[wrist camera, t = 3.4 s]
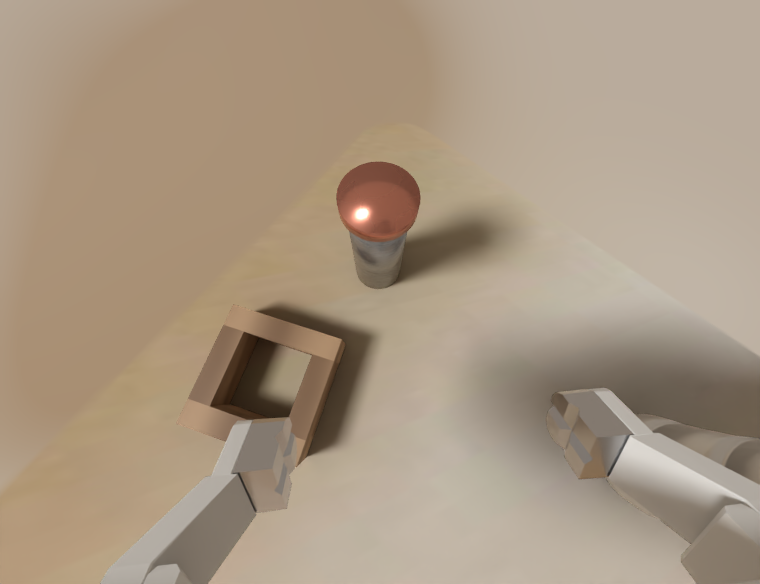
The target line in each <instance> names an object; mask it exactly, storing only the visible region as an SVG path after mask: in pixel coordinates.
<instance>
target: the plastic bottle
mask: <svg viewBox="0 0 760 584" xmlns="http://www.w3.org/2000/svg"><path fill="white" fill-rule="evenodd" d="M635 415H636V416H637V417H638V418H639V419H640V420H641V421H642V422H643V423H644V424H645V425H646V426H647V427H648V428H649V429H650V430H651V431H652V432H653V433H660V434H662V435H664V436H666V437H668V438H670V439H672V440H674V441H676V442H678V443H680V444H682V445H684V446H685V447H687V448H689V449H691V450H693V451H695V452H697V453H699V454H701V455H703V456H705V457H707V458H709V459H711V460H713V461H714V462H716V463H718V464H720V465H722V466H724V467H726V468H728V469H730V470H732V471H734V472H736V473H738V474H740V475H742V476H743V477H745V478H747V479H749V480H751V481H753V482H755V483H757V484H759V485H760V438H755V437H745V436H736V435H731V434H726V433H722V432H717V431H712V430H707V429H702V428H697V427H693V426H688V425H686V424H683V423H680V422H677V421H674V420H671V419H667V418H663V417H659V416H655V415H649V414H635ZM605 478H606V479H607V481H608V482H609V484H610V485H611V487H612V488H613V489H614V490H615V491H616V492H617V493H618V494H619V495H620V496H622V497H623V498H624V499H625V500H627V501H628V502H629V503H631V504H632V505H634V506H635V507H637V508H638V509H639V510H641V511H643V512H644V513H646V514H648V515H650V516H652V517H655V518H657V517H656V516H655V515H653V514H652V513H651V512H650V511H648V510H647V509H646V508H644V507H643V506H642V505H641V504H639V503H638V502H637V501H636V500H634V499H633V498H632V497H630V496H629V495H628V494H627V493H625V492H624V491H623V490H622V489H620V488H619V487H618V486H617V485H615V484H614V483H613V482H611V481H610V480H609V479H608V478H609V477H605Z"/></svg>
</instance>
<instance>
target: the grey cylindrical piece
mask: <svg viewBox="0 0 760 584" xmlns="http://www.w3.org/2000/svg"><path fill="white" fill-rule="evenodd" d="M419 205H420V191H419V187H418V185H417V183H416V181H415V180H414V178H413V177H412V176H411V175H410V174H409V173H408V172H407V171H406V170H404V169H403V168H401V167H399V166H397V165H394V164H391V163H387V162H370V163H365V164H362V165H360V166H358V167H356V168H354V169H352V170H351V171H350V172H349V173H347V174H346V175H345V177H344V178H343V179H342V181H341V182H340V184H339V187H338V190H337V206H338V210H339V214H340V218H341V220H342V222H343V224H344V225H345V227H346V228H347V229H348V230H349V232H350V238H351V243H352V249H353V254H354V260H355V265H356V270H357V275H358V277H359V279H360V280H361V282H362V283H363V284H365V285H366V286H368V287H370V288H374V289H383V288H386V287H388V286H390V285H392V284H393V283H394V282H395V281H396V279H397V278H398V275H399V272H400V267H401V262H402V256H403V251H404V246H405V241H406V236H407V231H408V230H409V229H410V228H411V227H412V225H413V224H414V222H415V220H416V217H417V213H418V209H419Z"/></svg>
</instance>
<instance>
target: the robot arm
mask: <svg viewBox="0 0 760 584" xmlns="http://www.w3.org/2000/svg"><path fill="white" fill-rule="evenodd" d="M551 402H552V403H553V405H554V406H553V407H552V408H551V409H550V410H548V412H547V416H546V423H547V428H548V431H549V433H550V435H551V437H552V439H553V440H554V442H555V443H556V444H557V445H559V446H560V447H562V448H563V449H565V452H564V457H565V459H566V461H567V462H568V464H569V465H570V467H571V468H572V470H573V471H574V473H575V474H576V476H577V477H578V479H589V478H603V477H609V478H608V479H609V480H610V481H611V482H613V483H614V484H615V485H617V486H618V487H619V488H620V489H622V490H623V491H624V492H625V493H627V494H628V495H629V496H630V497H632V498H633V499H634V500H636V501H637V502H638V503H639V504H641V505H642V506H643V507H644V508H646V509H647V510H648V511H650V512H651V513H652V514H653V515H655V516H656V517H657V518H658V519H660V520H661V521H662V522H663V523H665V524H666V525H667V526H669V527H670V528H671V529H672V530H674V531H675V532H676V533H677V534H679V535H680V536H681V537H683V538H684V539H685V540H686V541H688V542H689V543H690V544H691V545H690V546H689V547H688V548H687V550H686V551H685V552H684V553H683V554H682V555H681V563H682V564H683V566H684V567H685V568H686V570H687V571H688V572H689V574H690V575H691V576H692V578H693V579H694V580H695V582H696V583H697V584H760V485H759V484H757V483H755V482H753V481H751V480H749V479H747V478H745V477H743V476H742V475H740V474H738V473H736V472H734V471H732V470H730V469H728V468H726V467H724V466H722V465H720V464H718V463H716V462H714V461H713V460H711V459H709V458H707V457H705V456H703V455H701V454H699V453H697V452H695V451H693V450H691V449H689V448H687V447H685V446H684V445H682V444H680V443H678V442H676V441H674V440H672V439H670V438H668V437H666V436H664V435H662V434H660V433H653V432H652V431H651V430H650V429H649V428H648V427H647V426H646V425H645V424H644V423H643V422H642V421H641V420H640V419H639V418H638V417H637V416H636V415H635V414H634V413H633V412H632V411H631V410H630V409H629V408H628V407H627V406H626V405H625V404H624V403H623V402H622V401H621V400H620V399H619V398H618V397H617V396H616V395H615V394H614V393H613V392H612V391H611V390H609V389H607V388H594V389H581V390H572V391H562V392H556V393H554V394H553V395H552V399H551ZM291 427H292V423H291V420H290V417H283V418H268V419H254V420H241V421H237V422H236V423H235V424H234V425H233V427H232V429H231V431H230V434H229V436H228V438H227V441H226V443H225V445H224V447H223V450H222V452H221V454H220V457H219V459H218V461H217V463H216V466H215V468H214V470H213V473H212V475H211V476H207V477H205V478H204V479H203V480H201V481H200V482H199V483H198V484H197V485H196V486H195V487H194V488H193V489H192V490H191V491H190V492H189V493H188V494H187V495H186V496H185V497H184V498H182V499H181V500H180V501H179V502H178V503H177V504H176V505H175V506H174V507H173V508H172V509H171V510H170V511H169V512H168V513H167V514H166V515H165V516H163V517H162V518H161V519H160V520H159V521H158V522H157V523H156V524H155V525H154V526H153V527H152V528H151V529H150V530H149V531H148V532H147V533H146V534H145V535H143V536H142V537H141V538H140V539H139V540H138V541H137V542H136V543H135V544H134V545H133V546H132V547H131V548H130V549H129V550H128V551H127V552H126V553H124V554H123V555H122V556H121V557H120V558H119V559H118V560H117V561H116V562H115V563H114V564H113V565H112V566H111V567H110V568H109V569H108V570H107V572H106V574H105V576H104V577H103V579H102V581H101V583H100V584H208V582H209V581H210V580H211V578H212V577H213V575H214V574H215V573H216V571H217V570H218V568H219V567H220V566H221V564H222V563H223V561H224V560H225V558H226V557H227V556H228V554H229V553H230V551H231V550H232V549H233V547H234V546H235V544H236V543H237V541H238V540H239V539H240V537H241V536H242V534H243V533H244V532H245V530H246V529H247V527H248V526H249V524H250V523H251V522H252V520H253V519H254V517H255V516H256V513H258V512H266V511H274V510H281V509H287V506H288V501H289V496H290V491H291V486H292V483H291V479H290V476H289V475H290V473H291V472H292V471H293V470H294V469H295V464H296V459H297V442H296V437H295V435H294V434H293V433H292V432H291Z"/></svg>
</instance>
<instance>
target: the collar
mask: <svg viewBox="0 0 760 584" xmlns="http://www.w3.org/2000/svg"><path fill="white" fill-rule="evenodd" d="M258 338H262V339H265V340H268V341H271V342H274V343H277V344H280V345H283V346H286V347H289V348H292V349H295V350H298V351H301V352H304V353H307V354H310V355H312V357H311V360H310V362H309V365H308V367H307V370H306V373H305V375H304V378H303V381H302V383H301V386H300V389H299V391H298V394H297V396H296V399H295V402H294V404H293V407H292V410H291V412H290V415H289V417H290V420H291V423H292V427H291V432H292V433H293V434H294V435H295V437H296V442H297V459H296V464H295V467H297V466H298V465H299V464H300V463H301V462H302V461H303V460H304V459H305V458H306V457H307V454H308V451H309V448H310V445H311V443H312V440H313V437H314V434H315V431H316V428H317V425H318V423H319V420H320V417H321V414H322V411H323V408H324V405H325V403H326V400H327V397H328V394H329V391H330V388H331V385H332V383H333V380H334V377H335V374H336V371H337V368H338V365H339V363H340V360H341V357H342V354H343V351H344V348H345V345H346V344H345V343H344V342H343V340H342V339H339V338H336V337H333V336H330V335H327V334H324V333H321V332H318V331H314V330H311V329H308V328H305V327H302V326H299V325H296V324H293V323H290V322H287V321H283V320H280V319H277V318H274V317H271V316H268V315H265V314H262V313H259V312H256V311H253V310H249V309H246V308H243V307H240V306H237V305H234V304H233V306H232V308H231V310H230V312H229V314H228V317H227V319H226V321H225V323H224V325H223V327H222V329H221V331H220V333H219V335H218V337H217V339H216V341H215V343H214V346H213V348H212V350H211V352H210V354H209V356H208V358H207V360H206V362H205V364H204V366H203V368H202V370H201V373H200V375H199V377H198V379H197V381H196V383H195V385H194V387H193V389H192V391H191V393H190V395H189V397H188V399H187V402H186V404H185V406H184V408H183V410H182V412H181V414H180V416H179V418H178V420H177V422H176V424H179V425H182V426H184V427H187V428H190V429H192V430H195V431H198V432H201V433H203V434H206V435H209V436H212V437H214V438H217V439H220V440H223V441H225V442H226V441H227V438H228V436H229V434H230V431H231V429H232V427H233V425H234V424H235V423H236V422H237V421H241V420H254V419H268V417H265V416H262V415H260V414H257V413H254V412H251V411H248V410H245V409H243V408H240V407H237V406H234V405H231V404H230V402H231V400H232V397H233V395H234V393H235V390H236V388H237V386H238V384H239V381H240V379H241V377H242V375H243V372H244V370H245V368H246V365H247V363H248V361H249V359H250V356H251V354H252V352H253V350H254V347H255V345H256V343H257V341H258Z"/></svg>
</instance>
